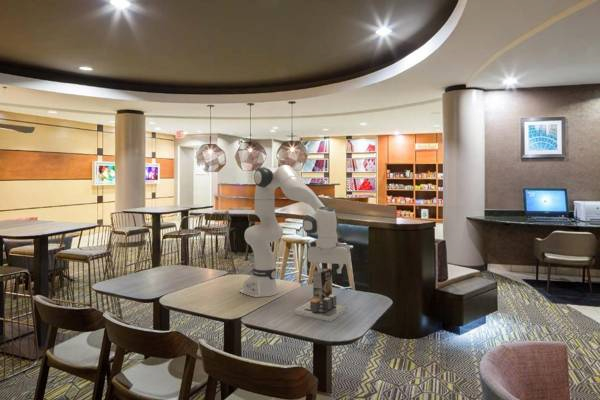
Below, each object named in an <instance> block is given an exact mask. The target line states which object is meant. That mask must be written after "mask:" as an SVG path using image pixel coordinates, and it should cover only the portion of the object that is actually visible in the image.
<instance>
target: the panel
mask: <svg viewBox="0 0 600 400" xmlns="http://www.w3.org/2000/svg"><path fill="white" fill-rule="evenodd" d="M346 312H348V307H347V306H345V305H340V304H336V305H335V306H334V307H332V308H331V309H329V310H325V309H322V302H320V310H319V311H317V312H313V311H311V306H310V300H309V301H307V302H306V303H303V304H302V305H299V306H297V307H296V308H295V309H293V314H294V315H298V316H302V317H307V318H312V319H317V320H321V321H327V322H331V323H332V322H333V321H334V320H336V319H337V318H339V317H340V316H342V315H343V314H345V313H346Z"/></svg>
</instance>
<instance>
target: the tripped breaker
mask: <svg viewBox="0 0 600 400" xmlns="http://www.w3.org/2000/svg"><path fill="white" fill-rule="evenodd" d="M309 301H310V306H311V311H313V312H317V311H319V310H320V299H316V298H314V299H313V298H312V299H310V300H309Z"/></svg>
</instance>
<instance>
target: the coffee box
mask: <svg viewBox="0 0 600 400" xmlns="http://www.w3.org/2000/svg"><path fill="white" fill-rule="evenodd" d="M321 268H322V272H318V269H317V268H316V269H315V270H312V273H313V274H312V278H313V280H312V284H313V285H312V287H313V288H312V289H313V290H312V291H313V293H312V295H313V298H312V299H314V298H316V299H320V302H322V300H323V299H324V298H326V297H328V296H330V295H333V269H332V268H328V267H321Z"/></svg>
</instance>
